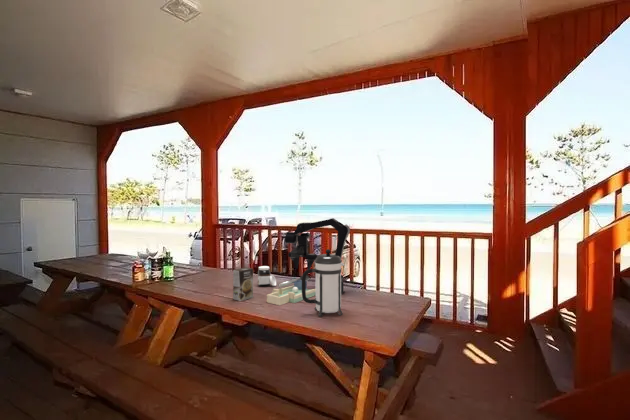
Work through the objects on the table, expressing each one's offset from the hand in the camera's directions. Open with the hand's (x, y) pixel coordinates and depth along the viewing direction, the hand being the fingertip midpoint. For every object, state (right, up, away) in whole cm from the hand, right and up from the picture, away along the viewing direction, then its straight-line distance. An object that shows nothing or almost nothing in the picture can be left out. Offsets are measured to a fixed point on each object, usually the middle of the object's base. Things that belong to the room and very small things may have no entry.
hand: (302, 269), depth 195 cm
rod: (-3, -10, -9) cm, 13 cm away
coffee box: (-32, -13, -17) cm, 38 cm away
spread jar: (-23, -12, +12) cm, 28 cm away
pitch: (-6, -12, -16) cm, 21 cm away
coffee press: (+13, -13, -41) cm, 45 cm away
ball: (-4, -10, -13) cm, 17 cm away
